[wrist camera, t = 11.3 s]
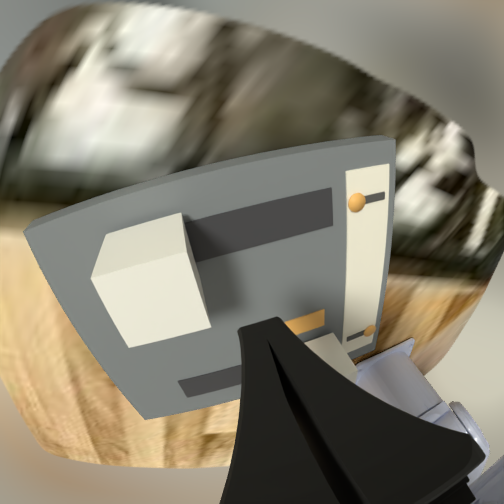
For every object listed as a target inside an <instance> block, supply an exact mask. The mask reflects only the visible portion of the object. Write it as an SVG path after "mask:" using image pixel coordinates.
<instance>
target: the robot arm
mask: <svg viewBox="0 0 504 504" xmlns="http://www.w3.org/2000/svg"><path fill="white" fill-rule="evenodd" d="M237 333H238V336H239V342H240V349H241V397H240V410H239V419H238V426H237V433H236V439H235V445H234V450H233V454H232V459H231V464H230V468H229V473H228V477H227V480H226V483H225V487H224V490H223V494H222V497H221V500H220V504H504V455H503V456H502V457H501V458H500V459H499V460H498V461H497V462H495V463H494V464H493V466H491V467H490V468H489V469H488V470H487V471H486V472H484V473H483V474H482V475H481V473H482V471H483V469H484V467H485V464H486V461H487V459H488V457H489V453H490V450H489V443H488V442H487V441H486V439H485V438H484V436H483V433H482V431H481V430H480V428H479V427H478V425H477V424H476V422H475V421H474V420H473V418H472V417H471V415H470V414H469V413H468V411H467V410H466V409H465V408H464V407H463V406H462V404H461V403H460V402H454V401H452V402H451V403H449V406H450V407H451V409H452V410H453V412H454V413H453V412H452V411H451V409H450V408H449V407H448V405H447V404H446V403H445V401H443V400H442V399H441V398H440V397H439V395H438V394H437V392H436V391H435V390H434V389H433V387H432V386H431V385H430V384H429V382H428V381H427V379H426V378H425V377H424V376H423V374H422V373H421V372H420V371H419V369H418V368H417V367H416V365H415V364H414V363H413V362H412V360H411V359H410V358H409V356H410V354H411V351H412V348H413V345H414V342H415V340H414V339H413V338H410V339H408V340H406V341H404V342H402V343H400V344H398V345H396V346H394V347H392V348H390V349H388V350H386V351H384V352H382V353H380V354H377V355H375V356H373V357H371V358H369V359H366V360H364V361H362V362H360V363H358V364H357V365H356V368H357V370H358V372H357V378H356V383H355V384H354V383H353V382H351V381H350V380H349V379H347V378H346V377H344V376H343V375H342V374H340V373H339V372H338V371H336V370H335V369H334V368H332V367H331V366H330V365H329V364H327V363H326V362H325V361H324V360H323V359H321V358H320V357H319V356H318V355H317V354H316V353H314V352H313V351H312V350H311V349H310V348H309V347H308V346H307V345H306V344H304V343H303V342H302V341H301V340H300V339H299V338H298V337H297V336H296V335H295V334H294V333H293V332H292V331H291V329H290V328H289V327H288V326H287V325H286V324H285V323H284V322H283V320H282V319H281V318H279V317H277V316H276V317H273V318H270V319H267V320H263V321H260V322H257V323H253V324H250V325H247V326H243V327H240V328H239V329H238V330H237ZM454 414H455V415H456V416H455V415H454ZM457 418H458V419H457ZM468 433H469V434H468Z"/></svg>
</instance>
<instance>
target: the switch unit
mask: <svg viewBox="0 0 504 504" xmlns="http://www.w3.org/2000/svg"><path fill="white" fill-rule="evenodd" d="M395 162H396V149H395V139H393V138H389V137H386V136H383V135H376V136H367V137H358V138H350V139H343V140H335V141H328V142H321V143H315V144H309V145H303V146H297V147H291V148H285V149H280V150H274V151H269V152H264V153H259V154H254V155H249V156H244V157H240V158H235V159H231V160H226V161H222V162H217V163H213V164H209V165H205V166H201V167H197V168H193V169H189V170H185V171H181V172H177V173H174V174H170V175H166V176H163V177H159V178H156V179H152V180H149V181H145V182H142V183H139V184H135V185H132V186H129V187H126V188H122V189H119V190H116V191H113V192H110V193H107V194H104V195H101V196H98V197H95V198H92V199H89V200H86V201H83V202H81V203H78V204H75V205H72V206H69V207H67V208H64V209H61V210H59V211H56V212H54V213H51V214H48V215H46V216H43V217H41V218H38V219H36V220H33V221H32V222H31V223H30V224H29V225H28V227H27V228H26V229H25V230H24V231H23V233H24V235H25V237H26V239H27V242H28V244H29V246H30V248H31V250H32V252H33V254H34V256H35V258H36V260H37V263H38V265H39V266H40V268H41V270H42V272H43V274H44V276H45V278H46V280H47V282H48V284H49V285H50V287H51V289H52V291H53V293H54V294H55V296H56V298H57V300H58V301H59V303H60V305H61V307H62V308H63V310H64V312H65V313H66V315H67V316H68V318H69V320H70V321H71V323H72V324H73V326H74V328H75V329H76V331H77V332H78V334H79V335H80V337H81V338H82V340H83V341H84V343H85V344H86V346H87V347H88V349H89V350H90V351H91V353H92V354H93V356H94V357H95V358H96V360H97V361H98V363H99V364H100V365H101V367H102V368H103V369H104V371H105V372H106V373H107V375H108V376H109V377H110V379H111V380H112V381H113V382H114V384H115V385H116V386H117V387H118V389H119V390H120V391H121V392H122V394H123V395H124V396H125V397H126V398H127V400H128V401H129V402H130V403H131V404H132V405H133V407H134V408H135V409H136V410H137V411H138V412H139V414H140V415H141V416H142V417H143V418H144V419H145V420H147V419H153V418H158V417H164V416H169V415H174V414H179V413H184V412H188V411H193V410H197V409H202V408H206V407H210V406H214V405H218V404H222V403H226V402H230V401H233V400H237V399H240V397H241V349H240V342H239V336H238V333H237V330H238V329H239V328H240V327H243V326H247V325H250V324H253V323H257V322H260V321H263V320H267V319H270V318H273V317H276V316H277V317H279V318H281V319H282V320H283V322H284V323H285V324H286V325H287V326H288V327H289V328H290V329H291V331H292V332H293V333H294V334H295V335H296V336H297V337H298V338H299V339H300V340H301V341H302V342H303V343H305V342H308V341H311V340H314V339H317V338H319V337H322V336H325V335H328V334H330V333H334V335H335V336H336V338H337V339H338V341H339V342H340V344H341V345H342V347H343V348H344V350H345V351H346V353H347V354H348V356H349V357H350V359H351V360H352V359H355V358H357V357H359V356H361V355H364V354H366V353H368V352H371V351H373V350H375V346H376V342H377V337H378V332H379V326H380V321H381V315H382V309H383V303H384V297H385V290H386V283H387V276H388V268H389V260H390V251H391V241H392V229H393V216H394V198H395ZM177 213H181V214H182V217H183V221H184V225H185V228H186V232H187V235H188V239H189V242H190V246H191V249H192V253H193V256H194V259H195V263H196V266H197V269H198V273H199V276H200V280H201V284H202V289H203V294H204V298H205V303H206V307H207V311H208V316H209V320H210V324H211V328H207V329H204V330H200V331H196V332H192V333H188V334H184V335H181V336H177V337H173V338H169V339H165V340H161V341H156V342H152V343H148V344H144V345H139V346H135V347H131V348H129V347H128V346H127V344H126V342H125V341H124V339H123V337H122V336H121V334H120V332H119V331H118V329H117V327H116V325H115V324H114V322H113V320H112V318H111V317H110V315H109V313H108V311H107V309H106V307H105V306H104V304H103V302H102V300H101V298H100V296H99V294H98V292H97V290H96V288H95V286H94V284H93V282H92V280H91V276H92V273H93V270H94V267H95V264H96V261H97V258H98V255H99V252H100V249H101V247H102V244H103V241H104V238H105V236H106V234H109V233H112V232H115V231H118V230H122V229H125V228H128V227H132V226H135V225H138V224H142V223H145V222H149V221H152V220H156V219H159V218H163V217H166V216H170V215H173V214H177Z"/></svg>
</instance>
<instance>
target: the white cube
mask: <svg viewBox="0 0 504 504" xmlns="http://www.w3.org/2000/svg"><path fill="white" fill-rule="evenodd" d="M304 344H306V345H307V346H308V347H309V348H310V349H311V350H312V351H313V352H314V353H316V354H317V355H318V356H319V357H320V358H321V359H323V360H324V361H325V362H326V363H327V364H329V365H330V366H331V367H332V368H334V369H335V370H336V371H338V372H339V373H340V374H342V375H343V376H344V377H346V378H347V379H349V380H350V381H351V382H353V383H354V384H355V383H356V378H357V372H358V370H357V368H356V366H355V365H354V363H353V362H352V360H351V359H350V357H349V356H348V354H347V353H346V351H345V350H344V348H343V347H342V345H341V344H340V342H339V341H338V339H337V338H336V336H335V335H334V333H330V334H328V335H325V336H322V337H319V338H317V339H314V340H311V341H308V342H305V343H304Z"/></svg>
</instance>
